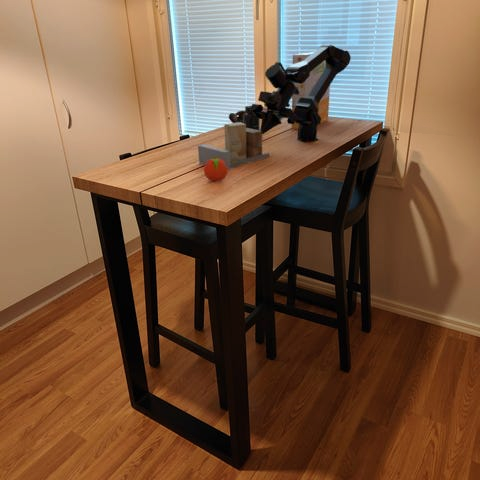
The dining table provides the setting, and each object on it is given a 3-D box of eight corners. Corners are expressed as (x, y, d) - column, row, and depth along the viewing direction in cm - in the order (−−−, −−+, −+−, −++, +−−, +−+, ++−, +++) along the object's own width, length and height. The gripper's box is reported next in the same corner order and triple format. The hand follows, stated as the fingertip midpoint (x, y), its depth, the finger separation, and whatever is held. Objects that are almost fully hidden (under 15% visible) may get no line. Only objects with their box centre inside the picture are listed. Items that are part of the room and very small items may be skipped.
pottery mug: (255, 126, 199) (256, 112, 192) (246, 139, 194) (246, 125, 187) (232, 118, 202) (232, 104, 195) (223, 130, 197) (222, 116, 191)
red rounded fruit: (230, 184, 124) (229, 160, 121) (207, 187, 123) (205, 163, 120) (225, 176, 131) (224, 153, 128) (203, 178, 130) (201, 156, 127)
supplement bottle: (258, 138, 175) (257, 107, 170) (242, 137, 176) (240, 107, 171) (261, 134, 181) (260, 104, 176) (245, 134, 182) (244, 105, 177)
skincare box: (230, 162, 144) (229, 126, 139) (225, 159, 148) (223, 124, 142) (247, 159, 147) (246, 123, 141) (241, 156, 150) (240, 121, 145)
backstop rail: (245, 150, 158) (244, 134, 155) (272, 157, 149) (272, 139, 146) (199, 162, 146) (197, 145, 143) (225, 170, 136) (224, 152, 134)
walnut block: (244, 152, 155) (244, 127, 151) (262, 156, 149) (261, 130, 145) (236, 154, 153) (235, 129, 149) (253, 159, 147) (253, 132, 143)
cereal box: (316, 119, 204) (318, 51, 190) (328, 121, 200) (331, 51, 187) (291, 129, 188) (292, 54, 174) (304, 130, 184) (306, 54, 171)
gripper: (252, 80, 153) (230, 116, 152) (291, 83, 141) (268, 123, 139) (268, 100, 161) (248, 134, 160) (306, 104, 149) (284, 142, 147)
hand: (261, 133), depth 151 cm, fingers closed
